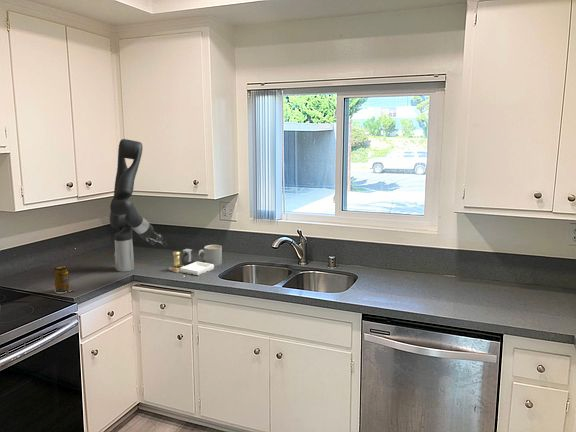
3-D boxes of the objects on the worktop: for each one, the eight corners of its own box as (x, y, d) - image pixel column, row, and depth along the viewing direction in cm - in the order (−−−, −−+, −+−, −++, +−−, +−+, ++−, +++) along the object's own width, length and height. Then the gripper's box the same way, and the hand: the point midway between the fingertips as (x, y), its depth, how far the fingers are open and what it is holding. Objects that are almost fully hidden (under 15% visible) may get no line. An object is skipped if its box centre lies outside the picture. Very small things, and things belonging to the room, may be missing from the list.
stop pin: (172, 270, 254) (171, 252, 252) (177, 268, 257) (176, 251, 255) (177, 271, 252) (176, 253, 250) (182, 269, 255) (181, 251, 253)
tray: (180, 272, 251) (180, 267, 250) (197, 265, 263) (197, 261, 262) (197, 275, 245) (197, 271, 245) (214, 268, 257) (214, 264, 257)
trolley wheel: (181, 267, 260) (180, 251, 258) (189, 264, 266) (188, 248, 264) (186, 268, 258) (185, 251, 256) (194, 265, 264) (193, 248, 262)
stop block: (169, 270, 253) (169, 267, 253) (177, 267, 259) (176, 264, 258) (177, 272, 251) (177, 269, 250) (185, 269, 256) (185, 266, 255)
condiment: (67, 287, 227) (65, 264, 225) (74, 291, 222) (72, 267, 219) (51, 291, 222) (49, 267, 220) (58, 295, 216) (56, 271, 214)
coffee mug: (224, 261, 271) (224, 245, 269) (218, 266, 261) (218, 249, 259) (202, 260, 273) (202, 244, 271) (196, 265, 264) (195, 248, 262)
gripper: (156, 222, 227) (173, 240, 239) (135, 219, 234) (153, 237, 246) (149, 234, 224) (167, 252, 236) (128, 232, 230) (146, 249, 242)
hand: (160, 244), depth 241 cm, fingers open, 8 cm apart
